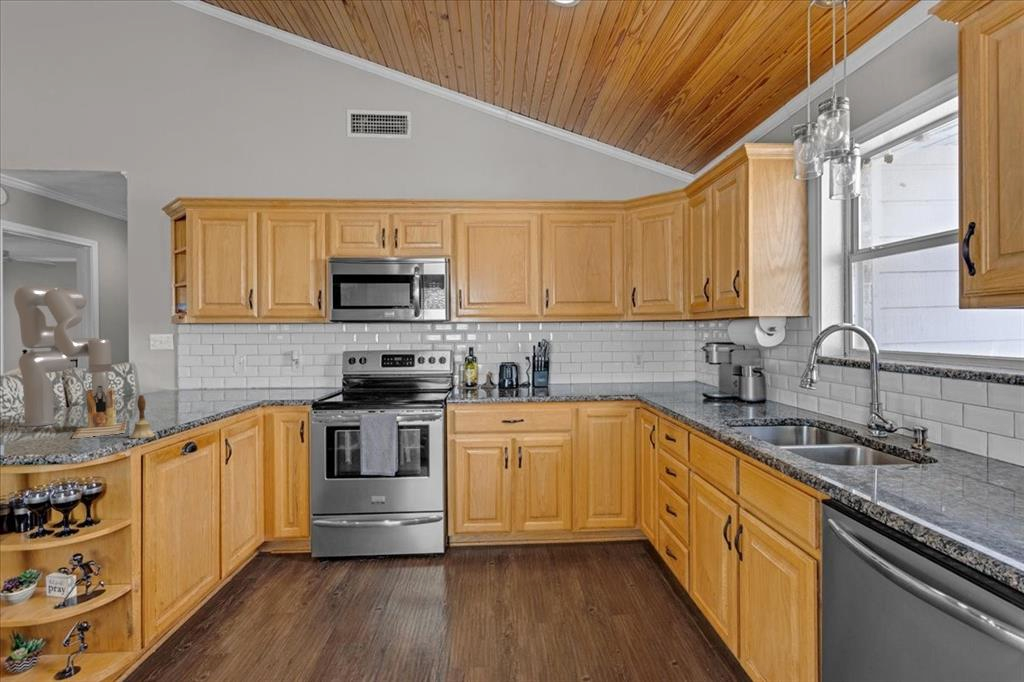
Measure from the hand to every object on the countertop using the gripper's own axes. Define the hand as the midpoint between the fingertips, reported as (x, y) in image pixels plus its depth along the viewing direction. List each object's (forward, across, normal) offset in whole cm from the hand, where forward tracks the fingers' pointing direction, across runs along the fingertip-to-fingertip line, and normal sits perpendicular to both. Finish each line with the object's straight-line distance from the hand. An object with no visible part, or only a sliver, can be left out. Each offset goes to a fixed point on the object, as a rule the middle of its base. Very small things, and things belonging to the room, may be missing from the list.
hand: (102, 410), depth 224 cm
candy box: (+7, 0, 0) cm, 7 cm away
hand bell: (+8, +28, +14) cm, 32 cm away
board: (+8, +7, 0) cm, 10 cm away
